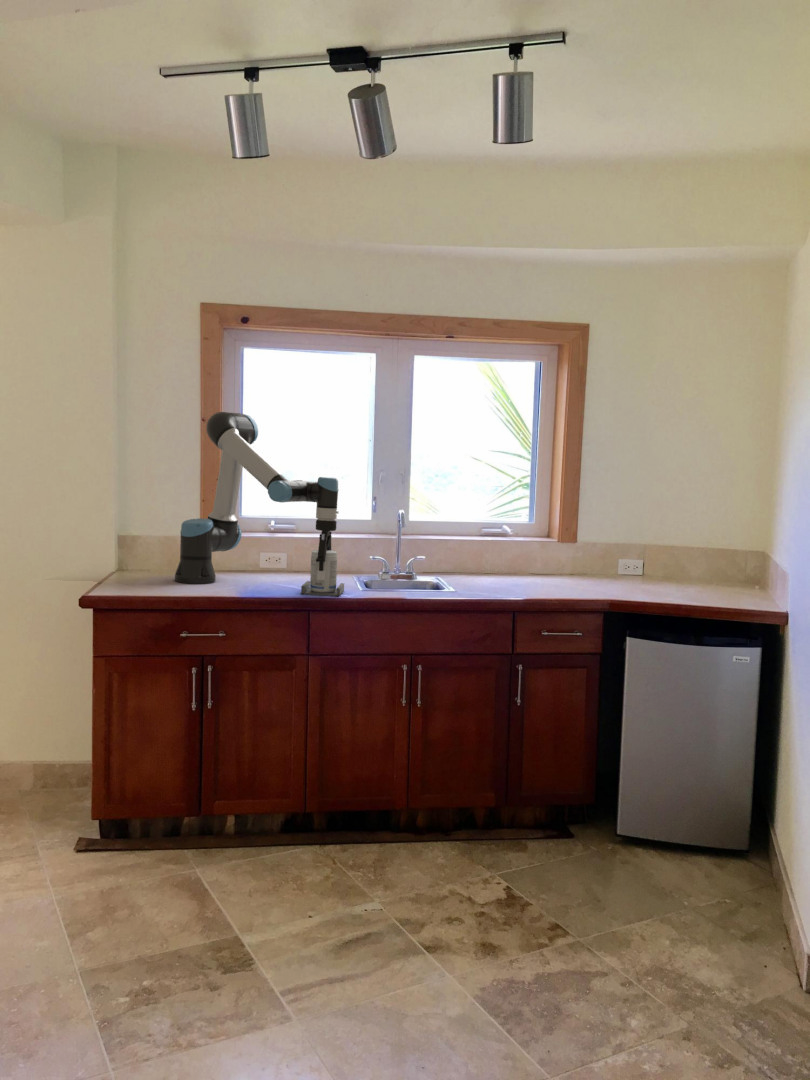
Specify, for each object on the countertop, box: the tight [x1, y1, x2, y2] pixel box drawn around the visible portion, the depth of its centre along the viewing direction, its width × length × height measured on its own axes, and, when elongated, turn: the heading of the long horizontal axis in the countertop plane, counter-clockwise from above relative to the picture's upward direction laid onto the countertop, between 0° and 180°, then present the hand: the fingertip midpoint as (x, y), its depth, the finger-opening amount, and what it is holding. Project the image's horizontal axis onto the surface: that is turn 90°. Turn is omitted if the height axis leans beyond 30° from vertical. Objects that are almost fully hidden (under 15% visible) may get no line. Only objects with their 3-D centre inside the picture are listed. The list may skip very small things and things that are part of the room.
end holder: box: [300, 580, 345, 598], centre depth 330 cm, size 14×13×3 cm
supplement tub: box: [309, 550, 338, 593], centre depth 330 cm, size 10×10×15 cm
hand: (323, 577), depth 330 cm, fingers open, 13 cm apart
